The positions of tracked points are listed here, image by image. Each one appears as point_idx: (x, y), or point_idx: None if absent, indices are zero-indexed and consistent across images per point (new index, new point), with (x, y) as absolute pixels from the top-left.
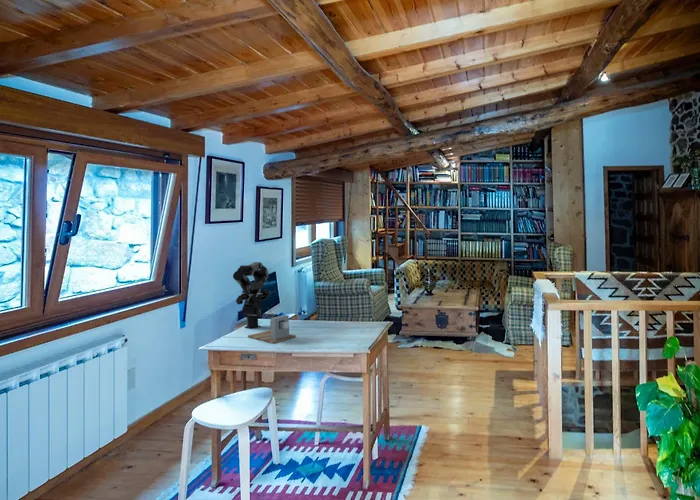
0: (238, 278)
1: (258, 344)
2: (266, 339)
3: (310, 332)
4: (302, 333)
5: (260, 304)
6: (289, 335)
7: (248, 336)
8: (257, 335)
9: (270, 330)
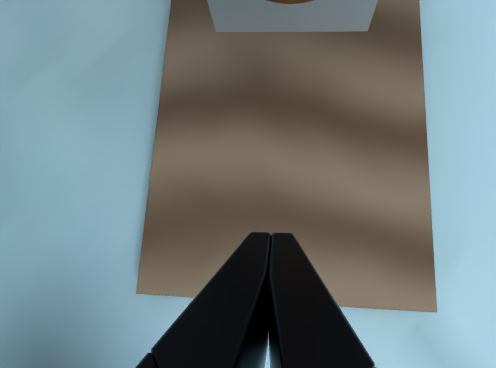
0: None
1: (493, 52)
2: (405, 49)
3: (2, 16)
4: (53, 39)
5: (216, 302)
6: (201, 4)
7: (432, 298)
8: (370, 223)
9: (160, 272)
